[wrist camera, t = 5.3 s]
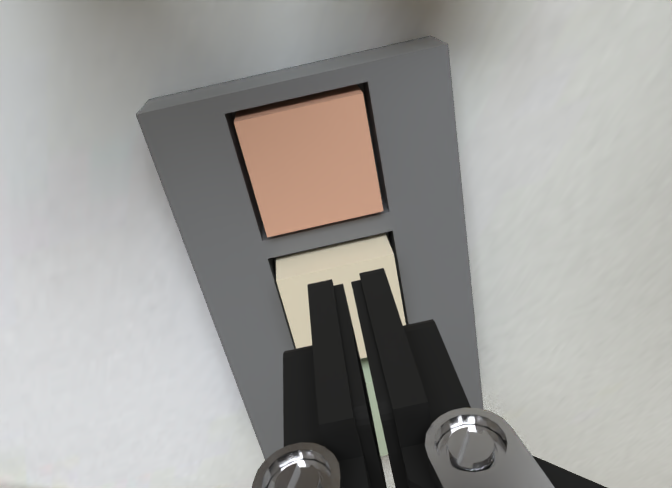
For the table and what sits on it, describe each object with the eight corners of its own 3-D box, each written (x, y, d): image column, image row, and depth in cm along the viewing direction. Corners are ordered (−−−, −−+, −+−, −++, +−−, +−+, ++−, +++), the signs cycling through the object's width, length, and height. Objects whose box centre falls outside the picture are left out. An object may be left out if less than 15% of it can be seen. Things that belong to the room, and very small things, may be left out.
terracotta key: (356, 83, 23) (363, 93, 21) (375, 193, 25) (383, 211, 23) (236, 109, 23) (233, 122, 21) (267, 217, 25) (267, 237, 23)
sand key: (385, 233, 25) (393, 254, 23) (400, 322, 27) (409, 347, 25) (275, 257, 25) (276, 280, 23) (301, 344, 27) (303, 371, 25)
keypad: (430, 35, 23) (448, 43, 21) (470, 391, 32) (484, 422, 30) (149, 99, 23) (135, 114, 21) (269, 436, 32) (269, 471, 30)
